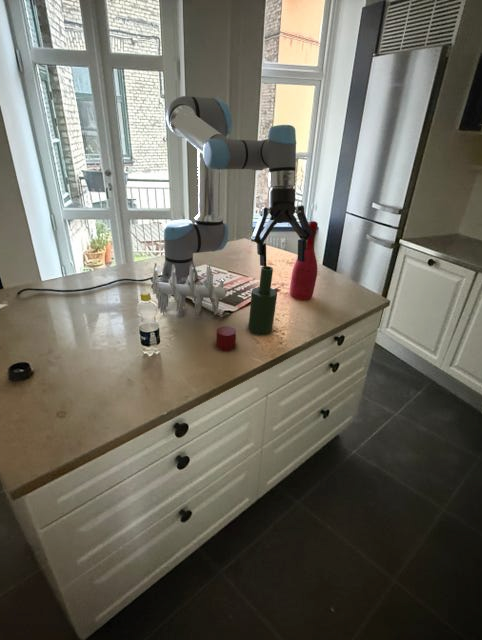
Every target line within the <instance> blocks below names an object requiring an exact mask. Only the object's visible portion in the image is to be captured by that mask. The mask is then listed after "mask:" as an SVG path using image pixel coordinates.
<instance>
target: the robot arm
mask: <svg viewBox="0 0 482 640" xmlns="http://www.w3.org/2000/svg"><path fill="white" fill-rule="evenodd" d="M165 119H166V124H167V125H168V128H169V130H170V132H172V133H173V134H174V135H175V136H177V137H178V138H180V139H185V141H187V142H188V143H190V144H191V145H192V146H193V147H195V148H196V149H197V167H198V168H197V170H198V171H197V173H198V174H197V176H198V178H197V179H198V185H197V186H198V214H197V215H196V216H195V217H194V223H193V221H192V220H190V219H175V220H171V221H168V222H167V223H165V225H164V227H163V236H162V237H163V245H164V246H163V247H164V262H163V267H162V270H161V272H160V273H161V274H160V275H159V274H158V279H159V278H161V280H162V281H163V282H164V283H169V279H170V277H171V273H172V264H173V265H175V276H176V284H185V283H186V280H188V275H189V270H190V266H191V264H193V267H194V270H193V273H194V272H195V282H196V281H197V280H198V272H197V269H196V266H195V263H194V254H200V253H208V252H209V253H210V252H214V253H215V252H217V251H221V250H224V248H226V245H227V244H228V240H229V229H228V225H227V223H226V222H224V218H223V216H221V210H220V209H221V170H251V171H263V170H266V169H268V175H269V176H268V188H270V190H269V191H268V193H269V207H265V206H264V207H263V206H262V207H260V208H259V216H258V219H257V222H256V224H255V227H254V229H253V232H252V235H251V237H250V241H251V242H253V243H256V250H257V255H258V256H259V266H261V267H263V266H267V243H265V241H266V240H267V238H268V236H269V235H270V233H271V232H272V231H273V229H274V227H275V226H276V225H277V224H282V223H288V224H289V225H290V226H291V228H292V229H293V231H294V232H295V233H296V234H297V236H298V237H299V239H297V258H298V261H301V262H304V254H305V250H306V248H307V247H306V246H307V240H308V239H309V237H312V235H313V234H312V232H311V229H310V226H309V221H308V218H307V216H306V214H305V213H306V212H305V205H303V204H302V205H297V206H296V205H295V204H296V203H295V202H296V189H295V187H296V164H297V163H296V160H297V159H296V158H297V137H296V135H297V132H296V128H295V127H294V126H293V125H291V124H278V125H274V126H271V127H270V128H269V129H268V135H267V138H265V139H261V140H256V139H255V140H253V139H231V138H228V137H229V136H230V134H231V132H232V128H233V120H232V113H231V110H230V108H229V106H228V104H227V102H226V101H225V100H222V99H219V98H215V97H200V96H191V95H181V96H179V97H176V98H175V99H173V101H172V102H170V104H169V105H168V107H167V110H166V118H165ZM295 214H296V216H297V217H296V216H295ZM269 215H270V217H269V219H268V216H269ZM267 219H268V220H267ZM266 221H267V223H266ZM298 221H299V222H298ZM265 223H266V225H265ZM150 280H153V276H150V277H147V278H142V279H137V278H136V279H135V278H120V279H115V280H112V281H109V282H106V283H103V284H99V285H95V286H91V287H85V288H77V289H55V288H34V287H33V288H32V287H28V288H27V287H25V288H23V289H21V290H19V291H18V292H17V293H16V295H17V296H18V295H20V294H22V293H23V292H26V291H36V292H56V293H75V292H84V291H90V290H94V289H99V288H103V287H105V286H106V287H107V286H110V285H112V284H115V283H118V282H124V281H127V282H128V281H129V282H146V281H150Z"/></svg>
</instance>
